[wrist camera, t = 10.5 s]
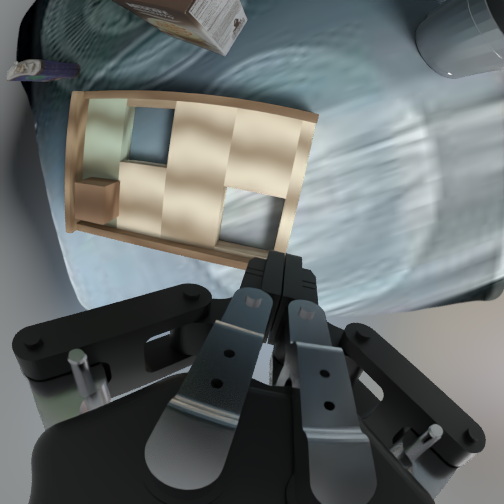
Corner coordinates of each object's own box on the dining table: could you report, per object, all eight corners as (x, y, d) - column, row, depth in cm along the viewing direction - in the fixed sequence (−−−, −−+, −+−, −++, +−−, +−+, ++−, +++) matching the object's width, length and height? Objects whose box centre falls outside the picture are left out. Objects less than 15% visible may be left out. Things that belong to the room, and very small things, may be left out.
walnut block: (91, 176, 36) (74, 182, 32) (120, 180, 36) (104, 186, 32) (91, 210, 38) (75, 218, 34) (118, 215, 38) (103, 224, 34)
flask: (41, 82, 33) (-5, 82, 23) (44, 66, 32) (-1, 63, 22) (79, 78, 33) (30, 73, 23) (83, 61, 32) (35, 52, 22)
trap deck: (95, 93, 34) (72, 91, 28) (315, 116, 32) (320, 113, 27) (86, 220, 42) (66, 232, 37) (281, 264, 40) (280, 283, 35)
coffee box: (166, 37, 30) (100, -3, 15) (189, 0, 27) (137, -55, 13) (226, 58, 31) (183, 13, 16) (250, 19, 28) (225, -44, 13)
